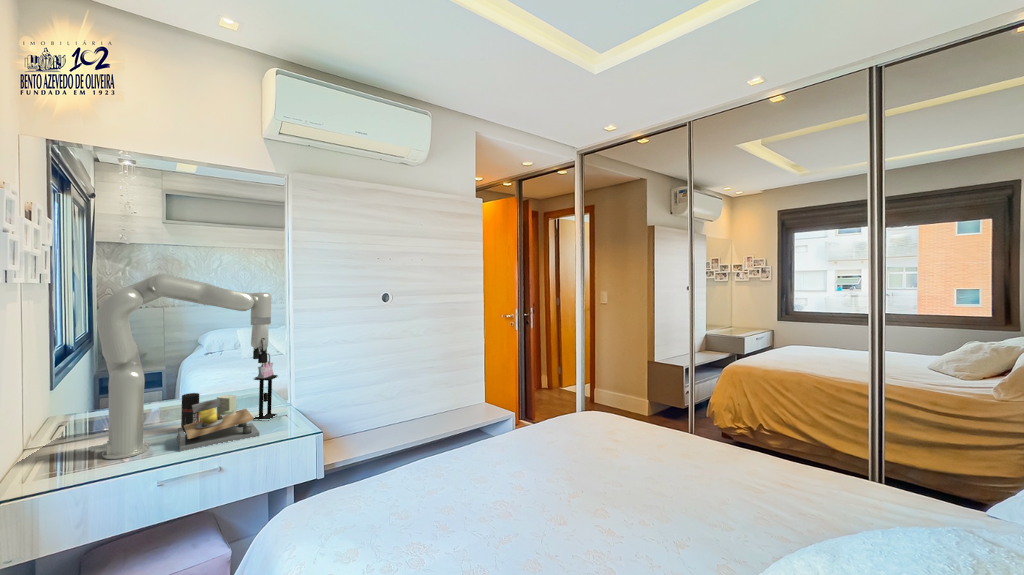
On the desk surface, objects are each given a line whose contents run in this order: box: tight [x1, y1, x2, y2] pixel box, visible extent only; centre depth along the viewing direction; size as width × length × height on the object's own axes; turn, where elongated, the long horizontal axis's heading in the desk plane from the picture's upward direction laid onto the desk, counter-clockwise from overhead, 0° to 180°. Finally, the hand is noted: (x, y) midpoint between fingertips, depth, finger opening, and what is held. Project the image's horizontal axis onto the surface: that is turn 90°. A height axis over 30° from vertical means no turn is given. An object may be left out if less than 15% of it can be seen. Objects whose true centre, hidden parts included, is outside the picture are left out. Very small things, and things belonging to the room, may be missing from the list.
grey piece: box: [176, 422, 260, 452], centre depth 174 cm, size 26×14×5 cm, turn 132°
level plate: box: [184, 398, 255, 439], centre depth 173 cm, size 22×14×10 cm, turn 131°
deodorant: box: [180, 392, 200, 434], centre depth 180 cm, size 6×6×15 cm
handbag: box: [253, 352, 279, 422], centre depth 199 cm, size 10×8×30 cm
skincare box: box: [216, 394, 237, 416], centre depth 190 cm, size 6×4×12 cm
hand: (259, 360), depth 185 cm, fingers open, 9 cm apart
